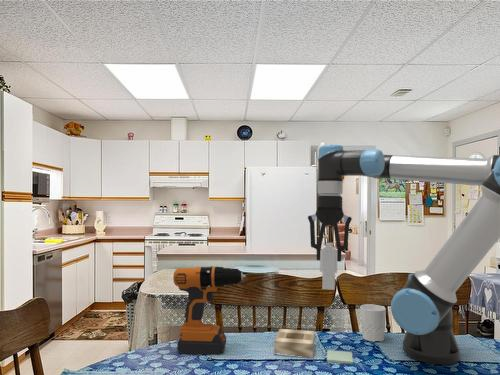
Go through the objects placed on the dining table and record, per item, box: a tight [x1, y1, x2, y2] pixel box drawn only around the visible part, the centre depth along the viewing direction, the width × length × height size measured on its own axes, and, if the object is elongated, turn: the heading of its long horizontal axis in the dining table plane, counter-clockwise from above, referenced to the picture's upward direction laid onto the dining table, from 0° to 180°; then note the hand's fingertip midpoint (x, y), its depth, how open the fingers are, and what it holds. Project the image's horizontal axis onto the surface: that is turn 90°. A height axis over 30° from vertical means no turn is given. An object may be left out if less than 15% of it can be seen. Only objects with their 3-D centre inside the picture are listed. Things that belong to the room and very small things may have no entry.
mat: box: [326, 349, 354, 365], centre depth 108 cm, size 7×7×1 cm
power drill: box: [172, 265, 247, 355], centre depth 114 cm, size 22×7×25 cm, turn 87°
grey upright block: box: [321, 242, 336, 291], centre depth 117 cm, size 4×6×14 cm, turn 166°
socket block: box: [273, 328, 316, 359], centre depth 115 cm, size 11×11×4 cm
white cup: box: [359, 303, 387, 343], centre depth 124 cm, size 8×8×10 cm
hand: (328, 271), depth 117 cm, fingers closed on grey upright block, 4 cm apart
